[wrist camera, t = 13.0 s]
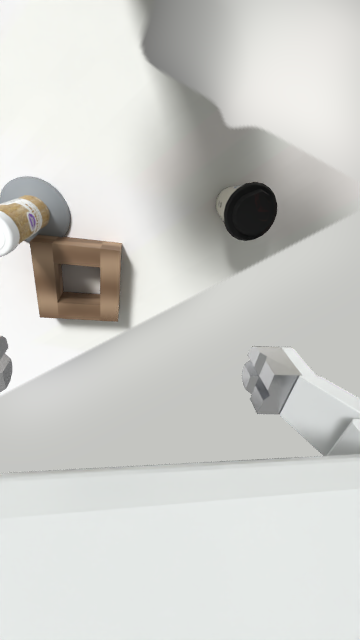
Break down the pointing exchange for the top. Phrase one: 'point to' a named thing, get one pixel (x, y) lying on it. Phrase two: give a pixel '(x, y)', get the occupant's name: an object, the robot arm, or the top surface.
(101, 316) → the holder block
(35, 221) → the sprinkles bottle
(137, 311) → the top surface
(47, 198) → the coaster
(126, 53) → the top surface
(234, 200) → the coffee cup
